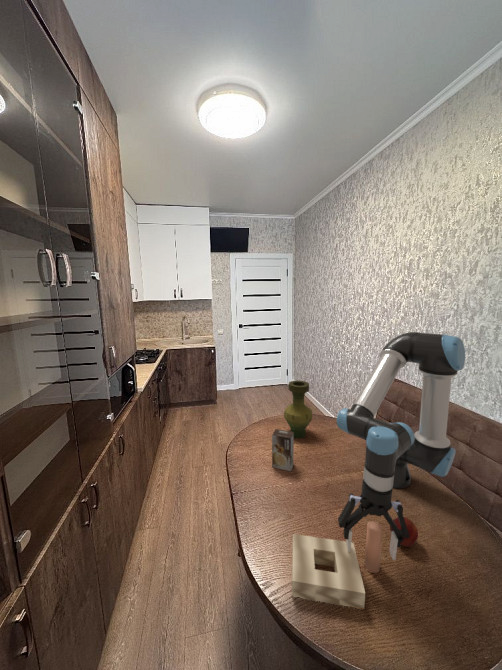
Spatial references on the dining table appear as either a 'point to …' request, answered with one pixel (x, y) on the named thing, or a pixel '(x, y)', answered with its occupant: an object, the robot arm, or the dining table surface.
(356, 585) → the socket block
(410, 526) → the apple
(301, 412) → the vase
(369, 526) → the peg
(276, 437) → the coffee box
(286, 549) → the dining table surface
